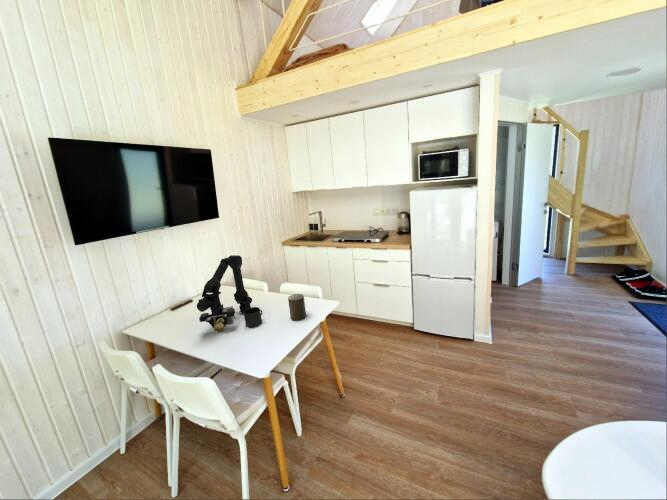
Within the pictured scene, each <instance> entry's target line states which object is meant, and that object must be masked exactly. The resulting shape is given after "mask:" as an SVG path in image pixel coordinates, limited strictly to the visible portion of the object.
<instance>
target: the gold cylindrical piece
mask: <svg viewBox="0 0 667 500" xmlns="http://www.w3.org/2000/svg"><path fill="white" fill-rule="evenodd" d="M223 318H224V316H220V317H218V319H217V322H216V324H215V326H214V328H213V329H214V331H215V333H222V332H223V331H224V330H225V328H226V327H225V325H224V319H223Z"/></svg>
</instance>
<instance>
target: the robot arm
mask: <svg viewBox="0 0 667 500" xmlns="http://www.w3.org/2000/svg"><path fill="white" fill-rule="evenodd" d="M242 265H243V258H242V256H241V255H232V254H230V255H229V256H228V257H224V258H221V259H220V263H219V265H218V267H216V269H215V271H214V273H213V276H212V277H211V278H210V279H208V280H207V281H206V282H205V284H204V286H203V290H202V294H201V298H200V299H198V300H197V301H198V302H197V303H196V309H197V310H198V311H199V312H202V313H201V314H200V316H199V318H198V319H199V320H198V321H199V323H203V322H205V323H208V324H209V325H210V326H211V327H213V329H214V326H215V323H214V320H213V317H217V316H222V315H224V318H223V319H224V325H225V328H226V327H227V325H226V322H227V318H229V317H231V316H234V315H235V314H236V309H235V308H234V307H233V308H231V309H227V311H225V312H222V311H223V309H224V308H225V307H224V304H223V303H221V299H220V295H221V294H222V291H220V289H221V286H222V285H221V284H222V283H221V281H222V279H223V277H224V275H225V273H226V271H227V269H228V268H229V267H230V269H231V270H232V273H233V280H234V285H235V290H236V291H235V293H234V294H233V297H234V299H233V300H235V302H236V304H238V305H239V306H238V307H239V312H240V314H241V315H244V311H245V310H246V309H248V308H252V306H251V304H252V302H253V298H252V297H251V296H249V293H248V292H247V290H246V289H245V286H244V281H243V275H242V270H241V269H242ZM208 309H210V313H209V312H205V311H207V310H208ZM211 313H212V314H211Z"/></svg>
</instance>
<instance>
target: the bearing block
mask: <svg viewBox="0 0 667 500" xmlns="http://www.w3.org/2000/svg"><path fill="white" fill-rule="evenodd" d="M223 308H224V309H223V311H222V312H225V311H227V309H231V308H234V306H227V307H223ZM210 314H212V312H210ZM222 316H224V315H222ZM235 316H236V315H235V314H234V316H231V317H229V318H227V322H226V326H229V325H233V324H234V321H235V318H236V317H235ZM218 317H220V316H217V317H213V320H214V323H215V324H216V322H217V319H218ZM211 327H212V326H211ZM212 328H213V327H212ZM213 329H214V328H213Z"/></svg>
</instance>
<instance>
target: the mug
mask: <svg viewBox="0 0 667 500" xmlns="http://www.w3.org/2000/svg"><path fill="white" fill-rule="evenodd" d="M262 315H263V310H262V309H261V308H259V307H256V306H253V307H252V306H251V308H248V309H246V310H245V311H244V314H243V316H244V322H245V327H246V328H247V329H248V328H249V329H253V328H257V327H259V326H261V325H262V322H263V320H262Z"/></svg>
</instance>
